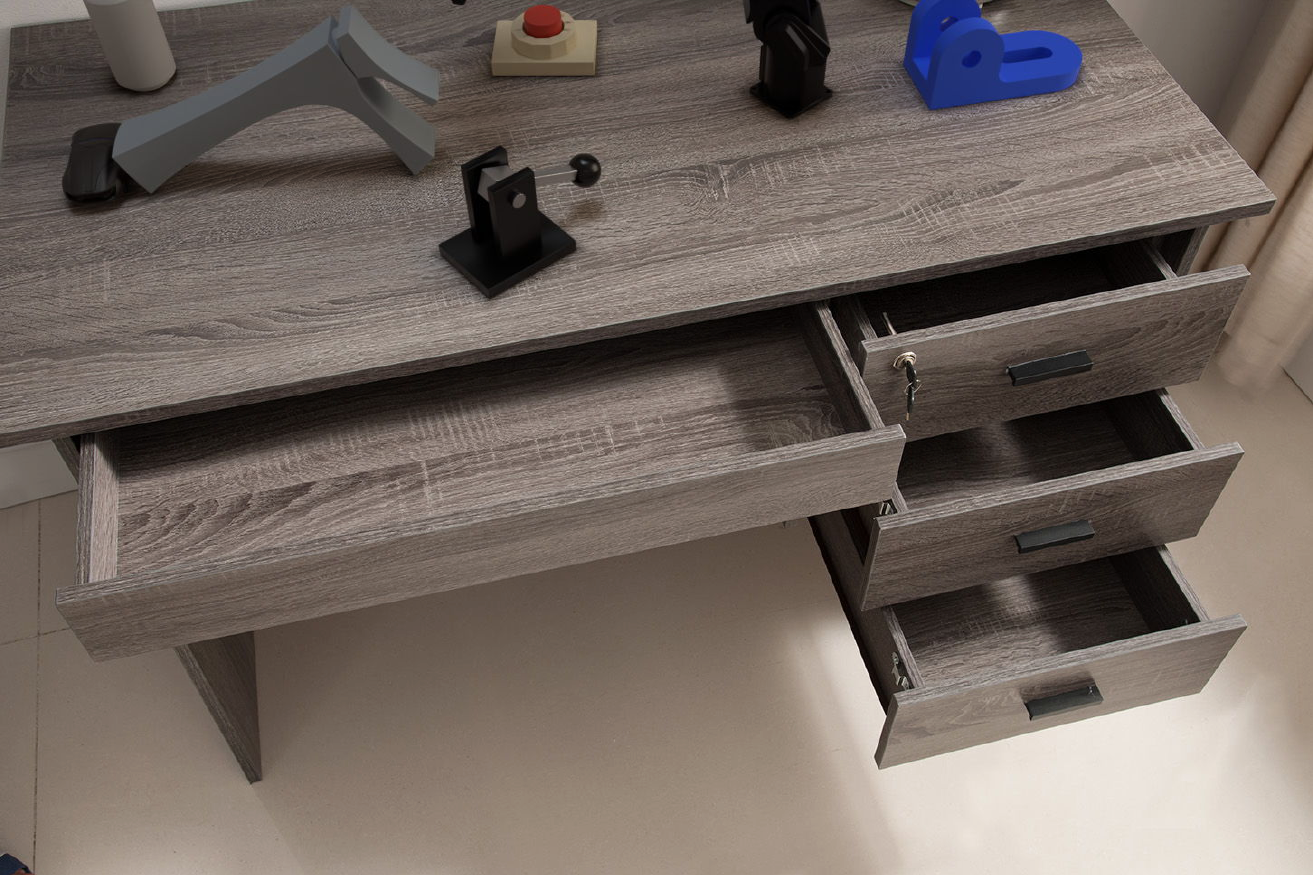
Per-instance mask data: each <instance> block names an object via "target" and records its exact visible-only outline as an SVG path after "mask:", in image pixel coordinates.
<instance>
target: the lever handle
mask: <svg viewBox="0 0 1313 875" xmlns="http://www.w3.org/2000/svg"><path fill="white" fill-rule="evenodd" d="M533 171H534V175H535V184H536V188H537V187H541V186H547V185H548V186H549V185H554V184H561V183H566V182H571V183H572V184H573V185H574V186H575V187H577V188H581V189H589V188H591V187H593V186H595V185H596V184H597V183H598V182H599V181H600V178H601V176H602V166H601V163H600V161H599V159H597V157H595V155H593V154H591V153H587V152H583V153H578V154H576V155H574V156H573V157H572V158H571V159H570V160H569V162H568V164H567V165H562V166H557V167H550V168H543V169H537V170H533ZM516 172H517V171H515V170H514V169H513V168H511V167H510V165H509V166H507V165H504V166H497V167H491V168H484V169H482V171H481V177H480V182H479V187H478V193H479V194H480V195H481V196H482V197H483V198H485V199H486V200H487V201H488V202H489V199H488V192H487V187H489V186H491V185H493V184H495V183H497V182H499V181H501V180H503V179H504V178H506V177H508V176H510V175H512V174H514V173H516Z"/></svg>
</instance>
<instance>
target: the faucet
mask: <svg viewBox="0 0 1313 875" xmlns="http://www.w3.org/2000/svg"><path fill="white" fill-rule="evenodd" d="M338 18H339V19H338V20H337V19H336V18H335V17H334V15H333V14H330V15H329V16H328V17H327V18H325V19H324V20H323V21H321V22H320V23H319V24H318V25H316V26H315V27H313V28H312V29H311V30H309V31H307V33H305V34H304V35H302V36H301V37H300V38H298V39H296V40H295V41H294V42H292V43H291V44H289V45H288V46H286V47H284V48H283V49H281V50H279V51H278V52H276V53H274V54H273V55H271V56H269V57H268V58H266V59H264V60H263V61H261V62H259V63H258V64H255V65H254V66H252V67H251V68H249V69H246V70H245V71H243V72H241V73H240V74H238V75H235V76H233V77H231V78H229V79H228V80H226V81H224V82H221V83H219V84H217V85H215V86H213V87H211V88H208V89H207V90H204V91H202V92H199V93H197V94H195V95H193V96H190V97H188V98H185V99H183V100H180V101H177V102H176V103H173V104H171V105H168V106H166V107H163V108H161V109H158V110H155V111H152V112H149V113H145V114H141V115H139V116H135V117H131V118H126V119H123V121H122V122H121V123H122V124H121V126H120V128H119V130H118V132H117V135H116V138H115V142H114V147H113V154H112V158H113V159H114V160H115V161H116V162H117V163H118V164H119V165H120V166H121V167H122V168H123V169H124V170H125V171H126V172H127V175H128V176H130V177H131V178H132V179H133V180H134V181H135V182H136V183H137V184H138V185H140V186H141V187H142V188H143V189H145V191H147V192H148V193H150V194H153V193H154V192H155V191H156V190H157V189H158V188H159V187H161V186H162V184H164V183H166V181H168V180H169V179H170V178H171V177H172V176H174V175H175V174H176V173H178V172H179V171H181V170H182V169H183V168H185V167H186V166H188V165H189V164H191V163H192V162H193V161H195V160H196V159H198V158H200V157H201V156H203V155H204V154H206V153H207V152H209V151H210V150H211V149H213V148H215V147H217V146H218V145H220V144H221V143H223V142H225V141H227V140H228V139H230V138H232V137H233V136H235V135H236V134H238V133H240V132H242V131H244V130H246V129H247V128H249V127H250V126H253V125H255V124H257V123H258V122H261V121H262V120H265V119H267V118H269V117H272V116H274V115H276V114H279V113H281V112H282V113H283V112H285V111H288V110H292V109H295V108H300V107H305V106H326V107H327V106H328V107H332V108H336V109H339V110H342V111H344V112H345V113H348V114H350V115H352V116H354V117H355V118H357V119H358V120H359V121H361V122H362V123H363V124H365V125H366V126H367V127H368V128H370V129H371V130H372V131H373V132H374V133H375V134H376V135H378V136H379V138H381V139H382V140H383V141H384V143H385V144H386V145H388V147H389V148H390V149H391V150H392V151H393V152H394V153H395V155H396V156H397V157H398V158H399V159H400V160H401V161H402V162H403V164H404V165H406V167H407V168H408V169H409V170H410V171H411V173H412V175H414V176H417V175H418V174H419V173H420V172H421V171H422V170H423V169H424V168H425V167H426V166H427V165H428V164H429V163H430V162H431V161H432V160H433V159H434V158H435V150H436V149H435V148H436V129H437V128H436V127H435V126H434V125H433V124H431V123H430V122H428V121H427V120H426V119H424V118H423V117H421V116H420V115H419V114H417V113H416V112H415V111H413V110H412V109H410V108H409V107H407V105H405V104H404V103H403V102H401V101H400V100H399V99H398V98H396V96H394V95H393V94H392V93H391V92H390V91H389V90H387V88H386V87H384V85H382V84H381V83H380V81H378V80H377V79H381V80H384V81H386V82H388V83H390V84H392V85H395V86H396V87H399V88H400V89H403V90H405V91H406V92H408V93H410V94H412V95H413V96H415V97H416V98H418V99H420V100H421V101H422V102H424V103H425V104H427V105H428V106H430V107H431V108H434V106H436V104H437V103H438V102H439V95H440V94H439V93H440V74H441V73H440V70H437V69H436V68H433V67H432V66H429V65H428V64H425V63H423V62H421V61H420V60H417V59H415V58H414V57H412V56H410V55H409V54H407V53H405V52H404V51H402V50H400V49H398V48H397V47H396V46H394V45H393V44H392V43H390V42H389V41H387V40H386V39H385V38H384V37H383V36H382V35H380V33H378V32H377V31H376V30H375V28H374V27H373V26H372V25H371V24H370V23H369V22H368V21H367V19H365V17H364V16H363V15H362V14H361V12H360V11H359V9H357V7H356V6H355V5H354V4H353V3H350V4H348V5H346V6H345V7H343V8H341V9H340V10H339V17H338ZM376 78H377V79H376Z"/></svg>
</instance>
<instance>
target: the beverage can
mask: <svg viewBox="0 0 1313 875" xmlns="http://www.w3.org/2000/svg"><path fill="white" fill-rule="evenodd" d="M82 1H83V4H84V6H85V9H86V10H87V13H88V16H89V18H90V21H91V23H92V26H93V28H94V31H95V33H96V36H97V39H98V40H99V43H100V46H101V48H102V51H103V53H104V55H105V57H106V60H107V62H108V65H109V67H110V70H111V72H112V75H113V77H114V79H115V81H116V82H117V84H118V85H120V86H121V87H123V88H126V89H128V90H132V91H135V92H150V91H155V90H157V89H160V88H162V87H163V86H165V85H166V84H168V82H169V81H170V80H171V78H172V77H173V76H174V75H175V72H176V70H177V65H176V60H175V59H174V56H173V53H172V51H171V47H170V45H169V42H168V40H167V37H166V36H167V35H166V34H165V31H164V29H163V25H162V23H161V21H160V18H159V14H158V12H157V9H156V7H155V4H154V1H153V0H82Z"/></svg>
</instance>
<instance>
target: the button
mask: <svg viewBox="0 0 1313 875" xmlns="http://www.w3.org/2000/svg"><path fill="white" fill-rule="evenodd" d="M559 10H560V9H559V8H557V7H556V6H553V5H551V4H538V5H534V6H531V7H529V8H528V9H526V10H525V11H524V12H525V13H524V12H523V13H524V25H525V32H526V34H527V35H528V36H531V37H533V38H550V37H553V36H556V35H559V34H560V33H561V31H562V19H561V12H560V11H561V10H560V11H559Z"/></svg>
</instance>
